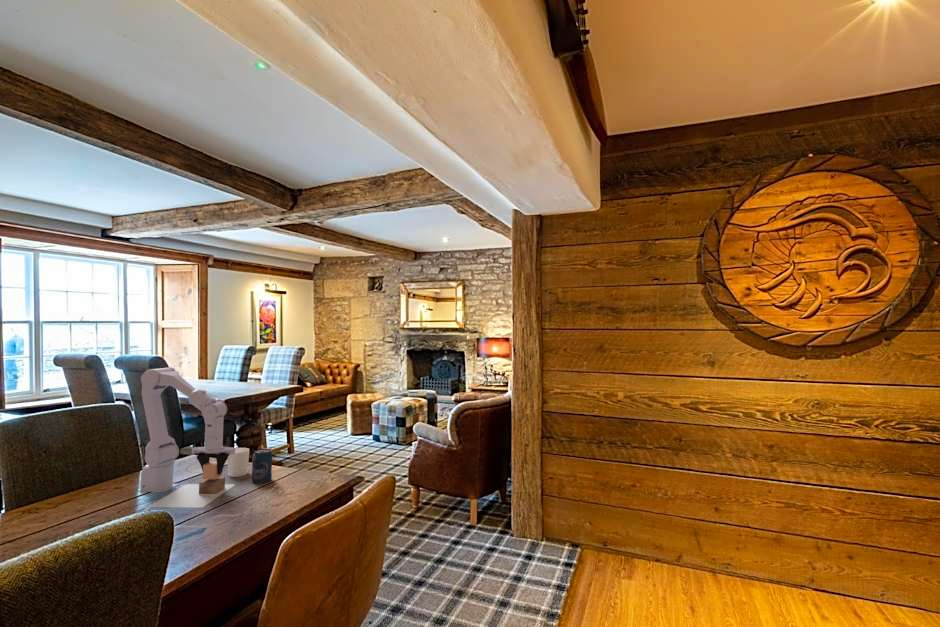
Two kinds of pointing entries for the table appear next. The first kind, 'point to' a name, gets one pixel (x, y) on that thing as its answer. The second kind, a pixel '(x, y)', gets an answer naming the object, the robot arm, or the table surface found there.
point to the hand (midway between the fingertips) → (212, 473)
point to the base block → (211, 485)
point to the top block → (210, 470)
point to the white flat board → (188, 497)
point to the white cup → (238, 462)
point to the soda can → (262, 466)
